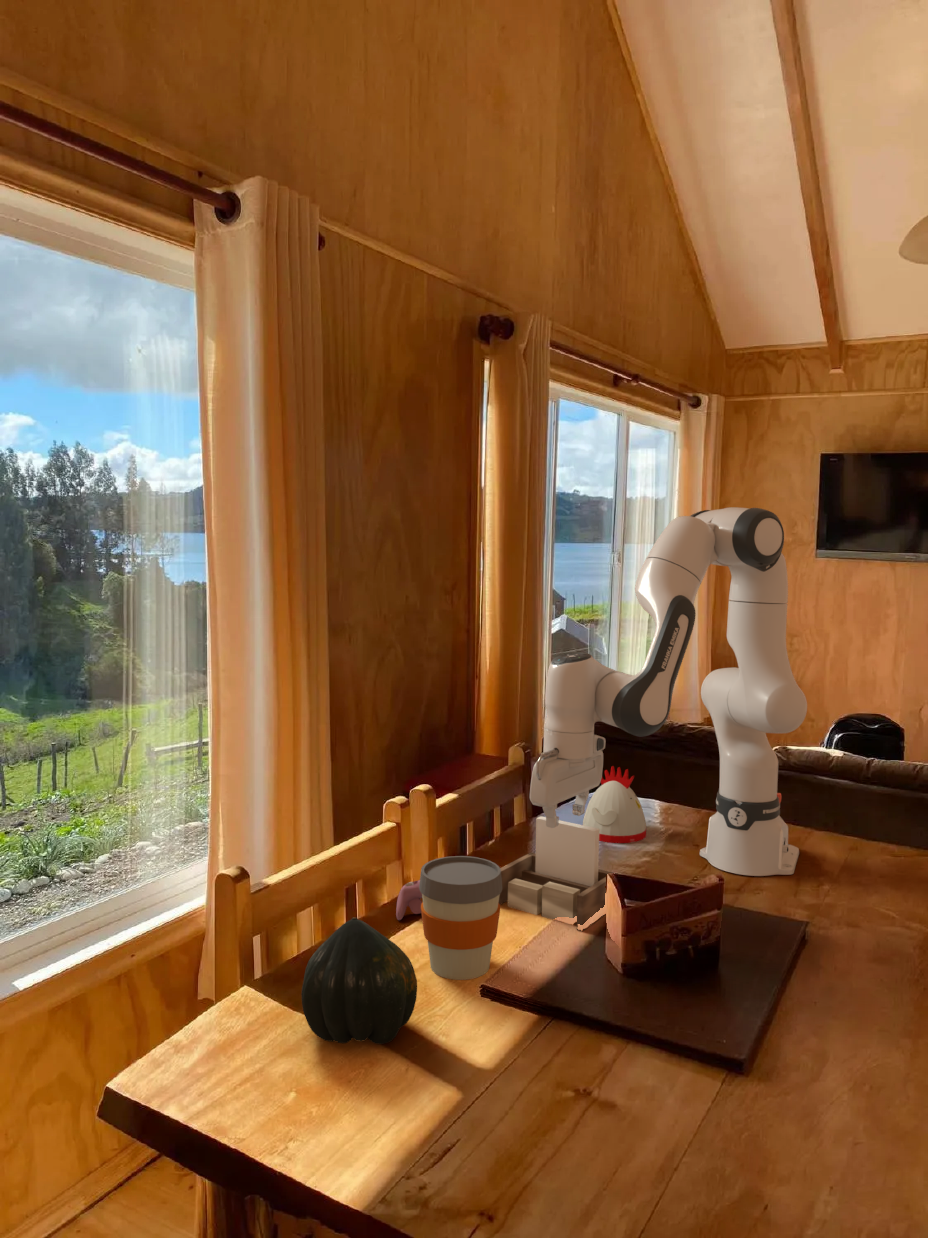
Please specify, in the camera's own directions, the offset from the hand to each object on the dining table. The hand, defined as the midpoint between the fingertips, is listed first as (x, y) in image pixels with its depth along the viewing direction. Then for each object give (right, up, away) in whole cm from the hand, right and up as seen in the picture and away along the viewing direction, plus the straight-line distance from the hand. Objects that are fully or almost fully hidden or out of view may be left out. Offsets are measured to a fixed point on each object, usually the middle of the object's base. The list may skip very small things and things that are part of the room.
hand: (565, 820), depth 164 cm
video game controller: (-25, -15, -7) cm, 30 cm away
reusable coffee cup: (-19, -17, -25) cm, 35 cm away
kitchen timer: (+15, -12, +39) cm, 44 cm away
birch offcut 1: (-7, -15, -3) cm, 17 cm away
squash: (-32, -18, -43) cm, 57 cm away
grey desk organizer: (-2, -15, -2) cm, 15 cm away
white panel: (0, -15, +1) cm, 15 cm away
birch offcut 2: (-2, -15, -7) cm, 17 cm away
